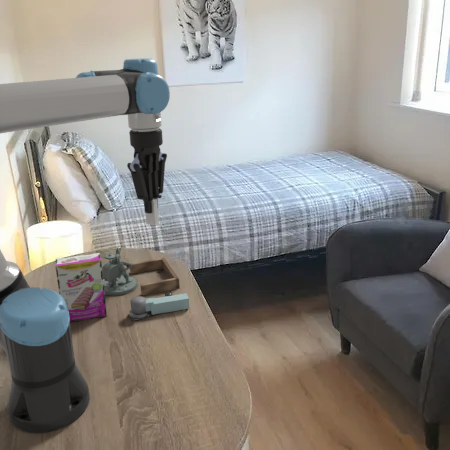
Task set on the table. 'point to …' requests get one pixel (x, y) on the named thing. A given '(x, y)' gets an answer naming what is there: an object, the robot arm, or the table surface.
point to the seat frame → (157, 264)
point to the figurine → (117, 276)
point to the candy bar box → (82, 286)
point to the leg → (159, 304)
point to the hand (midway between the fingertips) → (152, 223)
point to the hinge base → (146, 314)
